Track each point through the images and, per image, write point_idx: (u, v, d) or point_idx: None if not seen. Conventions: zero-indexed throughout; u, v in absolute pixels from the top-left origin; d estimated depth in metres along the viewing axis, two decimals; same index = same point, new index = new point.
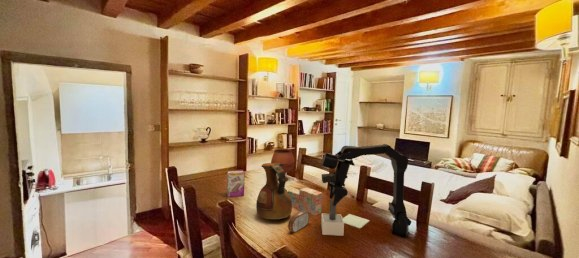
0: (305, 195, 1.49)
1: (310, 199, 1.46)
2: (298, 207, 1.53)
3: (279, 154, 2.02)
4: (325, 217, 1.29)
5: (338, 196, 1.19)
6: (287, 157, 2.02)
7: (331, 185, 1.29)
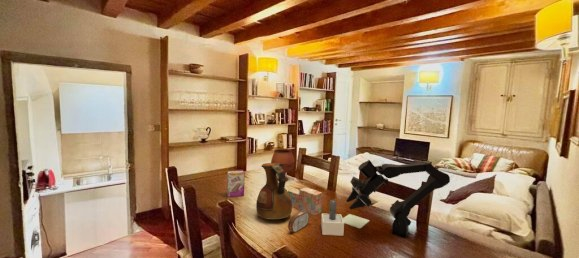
0: (305, 195, 1.49)
1: (310, 199, 1.47)
2: (298, 207, 1.53)
3: (279, 154, 2.02)
4: (325, 217, 1.29)
5: (359, 203, 1.20)
6: (287, 157, 2.02)
7: (354, 191, 1.31)
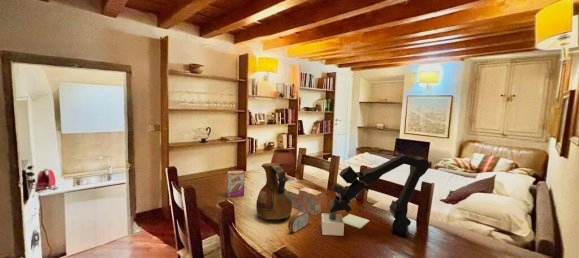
0: (304, 194, 1.49)
1: (309, 198, 1.47)
2: (297, 207, 1.53)
3: (279, 154, 2.02)
4: (325, 217, 1.29)
5: (339, 206, 1.24)
6: (287, 157, 2.02)
7: (337, 198, 1.29)
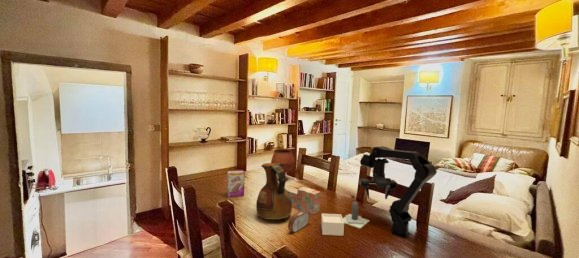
0: (303, 194, 1.50)
1: (308, 198, 1.48)
2: (296, 206, 1.54)
3: (279, 154, 2.02)
4: (348, 217, 1.40)
5: None
6: (287, 157, 2.02)
7: None
